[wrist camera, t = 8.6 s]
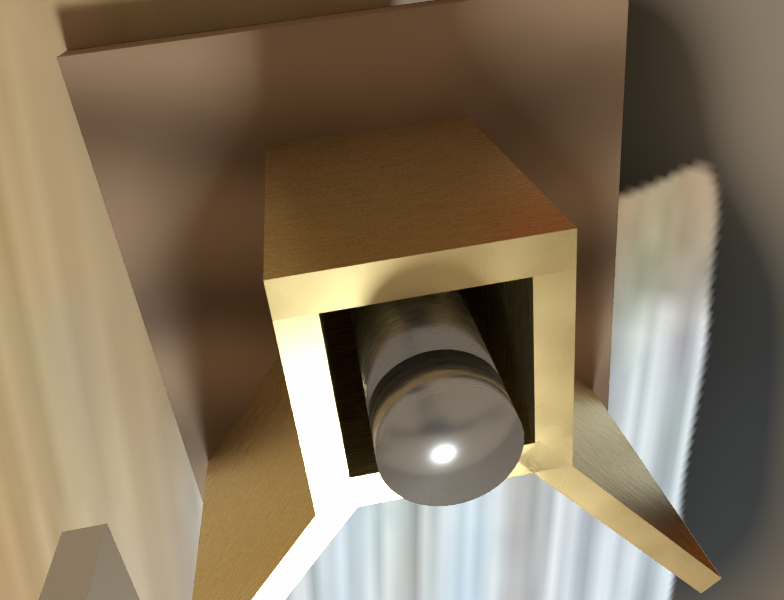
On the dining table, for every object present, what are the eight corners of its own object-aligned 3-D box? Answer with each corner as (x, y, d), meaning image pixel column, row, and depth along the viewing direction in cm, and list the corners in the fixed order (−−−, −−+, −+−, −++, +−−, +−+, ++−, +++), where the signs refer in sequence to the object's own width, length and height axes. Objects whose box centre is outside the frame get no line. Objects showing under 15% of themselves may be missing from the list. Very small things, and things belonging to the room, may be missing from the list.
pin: (356, 168, 24) (415, 373, 14) (438, 200, 25) (551, 412, 15) (322, 248, 25) (353, 489, 15) (402, 274, 26) (481, 517, 16)
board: (66, 50, 22) (56, 57, 21) (613, -25, 24) (629, -22, 23) (213, 508, 32) (212, 528, 31) (595, 436, 33) (605, 453, 32)
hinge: (116, 168, 23) (23, 320, 14) (603, 95, 24) (789, 192, 16) (211, 470, 29) (186, 701, 21) (592, 399, 31) (719, 589, 22)
